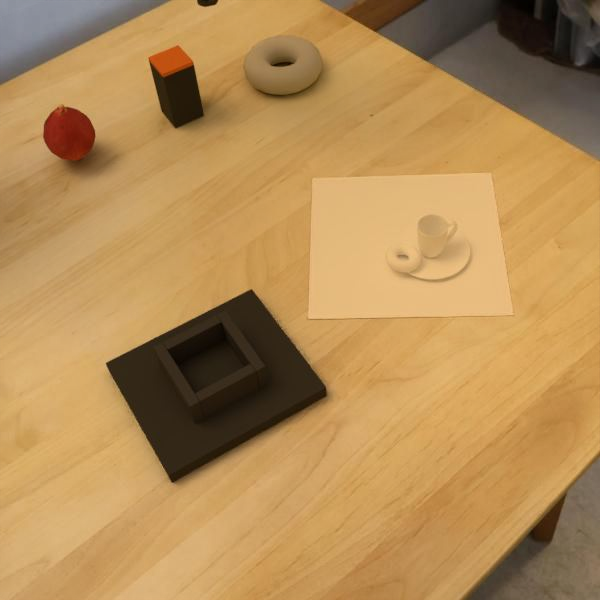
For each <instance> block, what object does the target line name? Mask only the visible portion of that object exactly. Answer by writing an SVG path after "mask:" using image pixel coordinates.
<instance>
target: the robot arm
mask: <svg viewBox="0 0 600 600" xmlns="http://www.w3.org/2000/svg"><path fill="white" fill-rule="evenodd" d="M218 2H219V0H196V3H197V5H198V6H200V7H203V8H207V7H212V6H216V5H218Z"/></svg>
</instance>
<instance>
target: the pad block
mask: <svg viewBox="0 0 600 600" xmlns="http://www.w3.org/2000/svg"><path fill="white" fill-rule="evenodd" d="M147 58H148V63H149V67H150V71H151V75H152V79H153V82H154V87H155V91H156V94H157V99H158V103H159V107H160V111H161V113H162V114H163V115H164V116H165V118H166V119H167V120H168V121H169V123H170V124H171V125H172V126H173V127H174V129H177V128H179V127H182V126H184V125H187V124H188V123H191V122H193V121H196V120H198V119H200V118H202V117H204V116H205V113H204V107H203V103H202V98H201V92H200V87H199V82H198V77H197V73H196V68H195V63H194V61H193V59H192V58H191V57H190V56H189V55H188V54H187V52H186V51H184V49H183V48H182V47H181V46H180V45H179V44H176V45H174V46H173V47H170V48H167V49H165V50H162V51H160V52H157V53H155V54H153V55H150V56H148V57H147Z"/></svg>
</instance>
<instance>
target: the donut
mask: <svg viewBox="0 0 600 600" xmlns="http://www.w3.org/2000/svg"><path fill="white" fill-rule="evenodd" d="M280 63H291V64H289V65H285V66H274V65H277V64H280ZM322 68H323V57H322V55H321V52H320V50H319V48H318V47H317V46H316V45H315V44H314V43H313V42H311V41H310V40H308V39H306V38H304V37H301V36H297V35H292V34H279V35H278V34H277V35H274V36H273V35H272V36H270V37H267V38H264V39H261V40H260V41H258V42H257V43H256V44H254V45H253V46H252V47H250V49H249V51H248V52H247V53H246V55H245V57H244V60H243V70H244V74H245V78H246V80H247V81H248V82H249V83H250V84H251V86H253V87H254V88H255V89H257V90H259V91H260V92H263V93H265V94H269V95H274V96H275V95H276V96H277V95H279V96H283V95H285V96H286V95H291V94H297V93H299V92H301V91H304V90H306V89H307V88H308V87H310V86H311V85H313V83H315V82H316V81H317V79H318V77H319V76H320V75H321V73H322Z"/></svg>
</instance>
